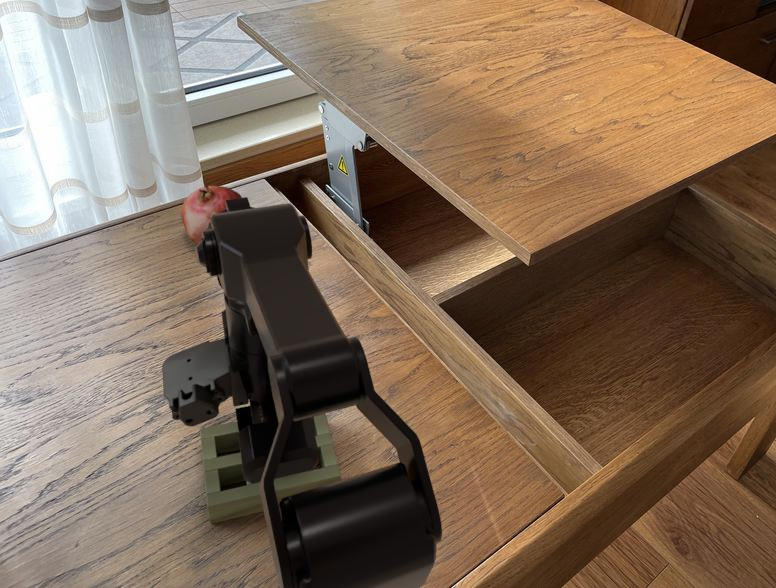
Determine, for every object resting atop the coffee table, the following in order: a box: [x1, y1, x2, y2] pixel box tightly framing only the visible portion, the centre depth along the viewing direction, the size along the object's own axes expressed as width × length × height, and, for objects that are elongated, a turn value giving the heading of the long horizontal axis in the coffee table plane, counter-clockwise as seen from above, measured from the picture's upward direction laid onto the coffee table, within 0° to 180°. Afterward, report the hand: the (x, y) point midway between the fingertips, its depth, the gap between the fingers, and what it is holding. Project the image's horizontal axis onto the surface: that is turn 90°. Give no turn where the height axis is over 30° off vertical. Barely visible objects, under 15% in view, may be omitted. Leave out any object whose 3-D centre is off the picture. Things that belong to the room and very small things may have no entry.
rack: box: [199, 413, 342, 525], centre depth 77 cm, size 9×13×4 cm
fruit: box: [180, 183, 243, 246], centre depth 102 cm, size 9×10×10 cm
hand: (270, 434), depth 71 cm, fingers closed
